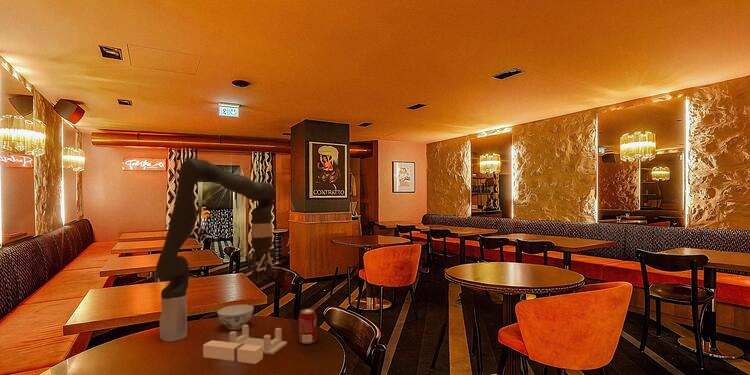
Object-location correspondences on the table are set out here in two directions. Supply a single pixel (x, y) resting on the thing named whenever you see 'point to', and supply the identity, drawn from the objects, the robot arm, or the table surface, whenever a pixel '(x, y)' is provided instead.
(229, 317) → the chinaware
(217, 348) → the beige bar
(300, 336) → the soda can
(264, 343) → the cream footed plank
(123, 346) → the table surface
